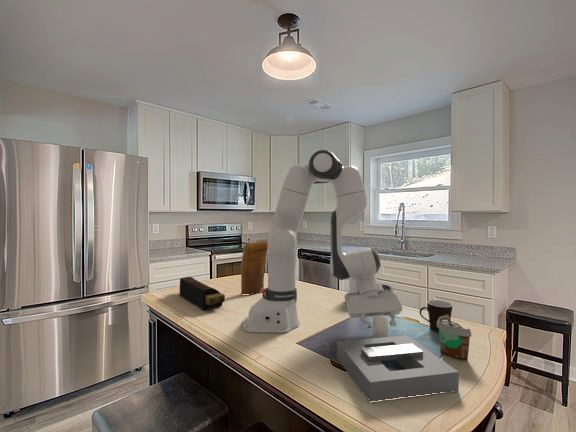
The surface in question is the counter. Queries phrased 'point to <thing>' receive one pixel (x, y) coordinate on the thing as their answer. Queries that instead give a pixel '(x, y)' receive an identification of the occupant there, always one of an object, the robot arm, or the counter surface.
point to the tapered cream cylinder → (380, 326)
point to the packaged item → (200, 294)
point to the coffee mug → (437, 312)
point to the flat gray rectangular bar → (391, 352)
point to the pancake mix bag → (253, 267)
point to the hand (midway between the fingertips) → (381, 326)
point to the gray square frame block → (393, 384)
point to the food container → (453, 339)
